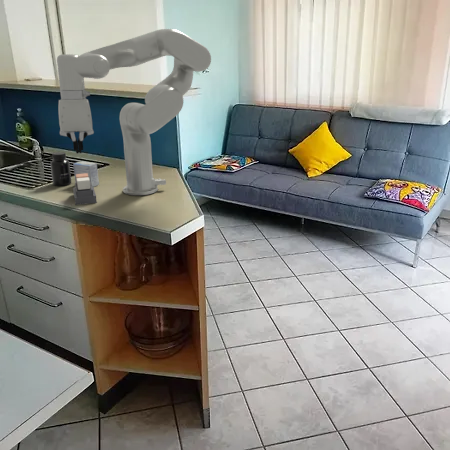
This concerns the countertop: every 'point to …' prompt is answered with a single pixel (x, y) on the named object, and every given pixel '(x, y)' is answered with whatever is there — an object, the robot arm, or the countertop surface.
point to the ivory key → (83, 183)
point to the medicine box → (87, 171)
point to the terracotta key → (81, 175)
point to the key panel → (84, 195)
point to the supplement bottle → (60, 169)
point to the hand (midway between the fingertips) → (78, 152)
